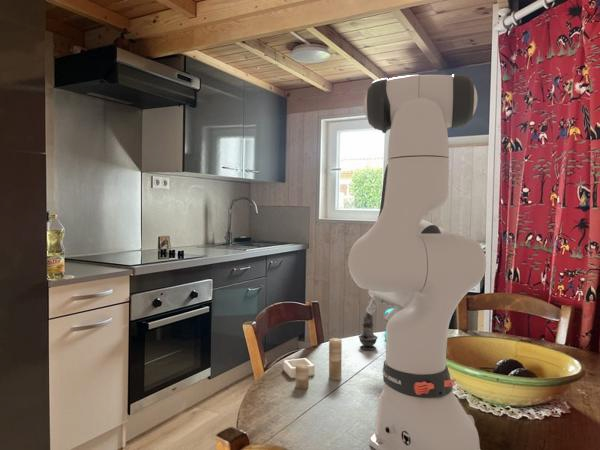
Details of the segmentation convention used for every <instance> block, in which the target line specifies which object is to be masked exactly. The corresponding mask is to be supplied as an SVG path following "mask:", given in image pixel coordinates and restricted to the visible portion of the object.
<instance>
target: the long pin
mask: <svg viewBox="0 0 600 450" xmlns="http://www.w3.org/2000/svg"><path fill="white" fill-rule="evenodd" d="M342 342H343V340H342V339H341V338H337V337H331V338H329V339H328V379H329V380H330V381H335V382H336V381H340V380H342V357H343V356H342V352H343V351H342V345H343V343H342Z"/></svg>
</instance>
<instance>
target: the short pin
mask: <svg viewBox="0 0 600 450" xmlns="http://www.w3.org/2000/svg"><path fill="white" fill-rule="evenodd" d="M309 377H310V376H309V367H308V366H307V365H297V366H296V378H295V389H297V390H301V391H302V390H308V389H309V385H310V384H309Z"/></svg>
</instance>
